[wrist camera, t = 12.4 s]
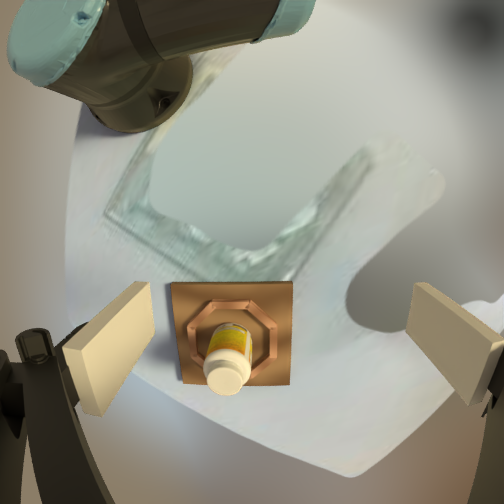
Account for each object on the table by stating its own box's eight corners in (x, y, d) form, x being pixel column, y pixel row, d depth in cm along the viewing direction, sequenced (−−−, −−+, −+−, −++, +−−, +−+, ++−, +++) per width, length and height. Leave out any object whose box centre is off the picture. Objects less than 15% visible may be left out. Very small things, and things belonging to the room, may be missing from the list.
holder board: (172, 282, 41) (168, 286, 39) (292, 281, 40) (293, 286, 38) (184, 379, 44) (181, 387, 42) (288, 380, 44) (290, 389, 42)
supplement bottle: (204, 330, 41) (189, 371, 31) (240, 314, 40) (234, 353, 30) (224, 362, 42) (215, 407, 32) (259, 347, 41) (259, 391, 31)
